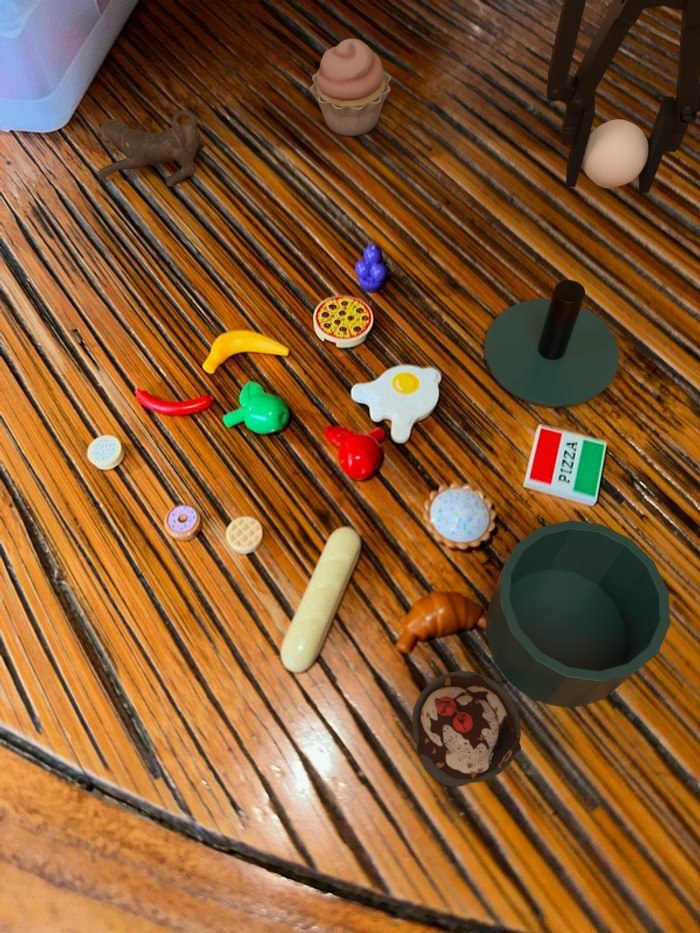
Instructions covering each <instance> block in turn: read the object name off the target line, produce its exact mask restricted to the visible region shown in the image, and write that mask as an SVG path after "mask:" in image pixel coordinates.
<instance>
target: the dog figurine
mask: <svg viewBox="0 0 700 933" xmlns="http://www.w3.org/2000/svg"><path fill="white" fill-rule="evenodd" d="M180 117H187V119H189V122H190V123H189V124H187V125H186V124H180V123H179V121H178V120H179V119H180ZM171 125H172V127H170V128H168V129H167V130H163V131H159V132H150V131H149V132H148V131H144V130H139V129H134V128H132V127H129V126H127V124H125V123H123V122H121V120H120V118H118V117H115V118H111V119H108V120H107V121H105V122H104V123H103V124H102V125H101V126H100V127H99V128H97V134H98V135H101V136H100V138H101V140H102V141H104V142H106V143H110V144H111V145H112V146H113V147H115V149H116V150H117V151H118V152H119V153H122V154H123V155H124V156H125V157H126V158H124V159H120V160H117V161H114V162H113V163H110V164H108V165H105V166H103V167H102V168H99V170H98V174H97V178H99V179H102V180H104V179H107V177H108V176H112V175H113V174H114V173H116V172H118V171H122V170H137V169H143V168H146V167H147V166H153V165H161V164H162V165H163V164H168V163H171V162H174V161H176V162H177V163H179V164H180V166H181V168H180V169H178V170H177V171H175V172H174V173H172V174H171V175H169V176H167V178H166V179H165V185H166V186H167V187H173V186H174V185H176V184H177V183H180V182H182V181H184V180H185V179H187V178H188V177H191V176H193V175H194V173H195V166H194V160H195V159H196V158H197V155H198V154H199V153H201V151H202V150H203V149H204V148H205V145H206V144H205V142H204V141H203V140H201V133H200V131H199V130H198V129H197V127H198V119H197V117H196V115H195V114H194V113H193V112H192V111H190V110H183V109H182V110H177V111H176V112H175V113H174V114H173V115H172V118H171Z"/></svg>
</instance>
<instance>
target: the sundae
mask: <svg viewBox="0 0 700 933" xmlns="http://www.w3.org/2000/svg"><path fill="white" fill-rule="evenodd" d="M411 718H412V732H413V738H414V740H415V744H416V751H417V753H418V755H419V758H420V761H421V764H422V766H423V768H424V770H425V772H426V773H427V774H428V775H429V777H431V778H432V779H433V780H434V781H435V782H437V783H440V784H441V785H444V786H447V787H463V786H466V785H469V784H472V783H482V782H484V781H487V780H489V779H492V778H494V777H496V776H497V775H500V774H501V773H502V772H504V770H505V769H506V768H508V766H510V764H512V762H513V761H514V759H515V757H516V755H517V753H519V752H520V751H521V749H522V746H521V736H522V730H521V729H522V728H521V720H520V714H519V711H518V709H517V707H516V704H515V702H514V701H513V699H512V696H511V695H510V694H509V693H508V692H507V691H506V690H505V689H504V687H503V686H501V685H500V684H498V682H497V681H495V680H494V679H492V678H490V677H488V676H485V675H483V674H481V673H477V672H474V671H468V670H456V671H450V672H448V673H444V674H442V675H441V676H439V677H435V679H433V680H432V681H431V682H430V683H429V684H427V686H426V687H425V688H424V689H423V690H422V691H421V692H420V694H419V695H418V697H417V699H416V702H415V704H414V706H413V712H412V715H411Z"/></svg>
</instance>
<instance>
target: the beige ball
mask: <svg viewBox="0 0 700 933" xmlns="http://www.w3.org/2000/svg"><path fill="white" fill-rule="evenodd" d="M647 158H648V138H647V136H646V134H645V133H644V132H643V130H642V129H641V128H640V127H639V126H638V125H637V124H635V123H633V122H631V121H628V120H626V119H620V118H617V119H616V118H615V119H611V120H609V121H605V122H603V123H602V124H600V125H598V126H597V127H596V128H595V129H594V130H593V131H591V132H590V135H589V139H588V142H587V146H586V150H585V153H584V157H583V161H582V165H581V168H582V170H583V172H584V173H585V175H586V176H587V177H588V179H590V180H591V181H592V182H593V183H594V184H595V185H597V186H598V187H600V188H604V189H614V188H617V187H621V186H625V185H627V184H630V183H631V182H632V181H634V180H635V179H637V177H639V176H638V175H639V174H640V172H641V171H642V170H643V168H644V166H645V164H646V162H647Z"/></svg>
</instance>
